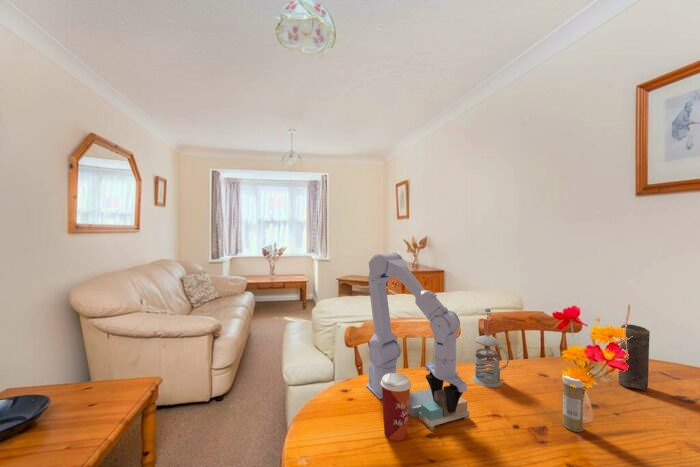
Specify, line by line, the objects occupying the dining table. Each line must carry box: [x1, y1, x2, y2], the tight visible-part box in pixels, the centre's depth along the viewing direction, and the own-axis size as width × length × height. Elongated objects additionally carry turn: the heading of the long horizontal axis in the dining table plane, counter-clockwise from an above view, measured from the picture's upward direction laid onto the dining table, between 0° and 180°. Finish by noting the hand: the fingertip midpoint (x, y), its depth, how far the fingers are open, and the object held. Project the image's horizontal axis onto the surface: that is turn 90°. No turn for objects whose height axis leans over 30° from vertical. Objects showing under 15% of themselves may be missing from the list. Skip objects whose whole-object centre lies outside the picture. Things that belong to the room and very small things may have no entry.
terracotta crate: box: [455, 397, 468, 413], centre depth 90 cm, size 4×4×2 cm
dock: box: [408, 387, 443, 418], centre depth 95 cm, size 8×15×3 cm, turn 114°
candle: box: [618, 323, 650, 391], centre depth 107 cm, size 8×7×20 cm
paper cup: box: [381, 372, 412, 442], centre depth 81 cm, size 8×8×14 cm
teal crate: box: [421, 401, 443, 421], centre depth 86 cm, size 4×4×2 cm
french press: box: [471, 307, 510, 388], centre depth 110 cm, size 10×12×25 cm
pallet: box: [418, 389, 470, 431], centre depth 88 cm, size 5×13×7 cm, turn 114°
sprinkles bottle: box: [562, 373, 585, 433], centre depth 84 cm, size 5×5×13 cm
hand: (444, 406), depth 88 cm, fingers open, 5 cm apart
